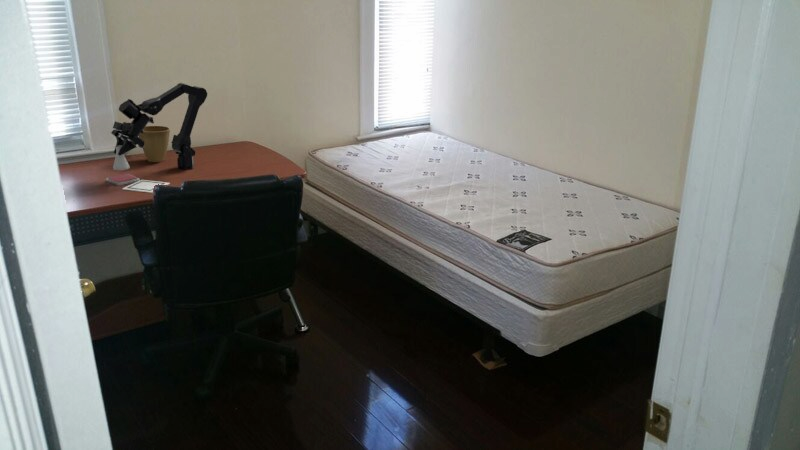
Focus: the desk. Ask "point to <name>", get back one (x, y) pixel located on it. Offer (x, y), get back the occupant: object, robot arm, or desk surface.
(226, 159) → the desk surface
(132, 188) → the marked board
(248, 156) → the desk surface
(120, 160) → the flask
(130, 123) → the robot arm
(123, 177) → the ink pad
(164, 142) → the plant pot
